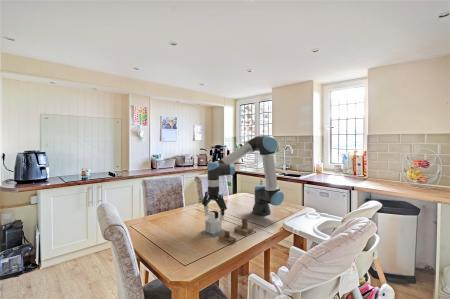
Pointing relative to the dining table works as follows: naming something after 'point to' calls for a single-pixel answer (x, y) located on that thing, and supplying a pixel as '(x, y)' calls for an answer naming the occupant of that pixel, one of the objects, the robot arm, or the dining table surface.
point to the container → (213, 223)
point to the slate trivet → (213, 234)
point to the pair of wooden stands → (239, 229)
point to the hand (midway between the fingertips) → (214, 217)
